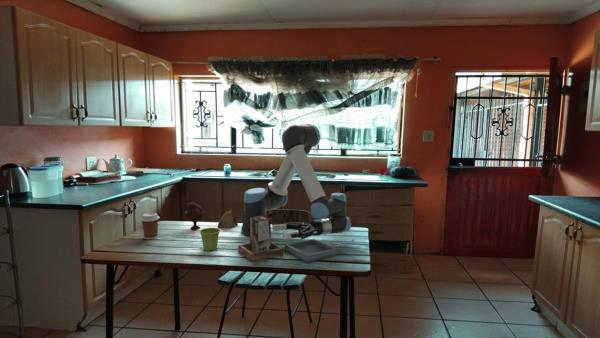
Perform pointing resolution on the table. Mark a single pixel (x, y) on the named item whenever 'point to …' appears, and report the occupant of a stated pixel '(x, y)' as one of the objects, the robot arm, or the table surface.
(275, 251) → the square wooden frame
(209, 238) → the plant pot
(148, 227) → the coffee cup
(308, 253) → the tray
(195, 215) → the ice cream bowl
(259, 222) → the coffee box
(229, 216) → the rock
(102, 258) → the table surface
